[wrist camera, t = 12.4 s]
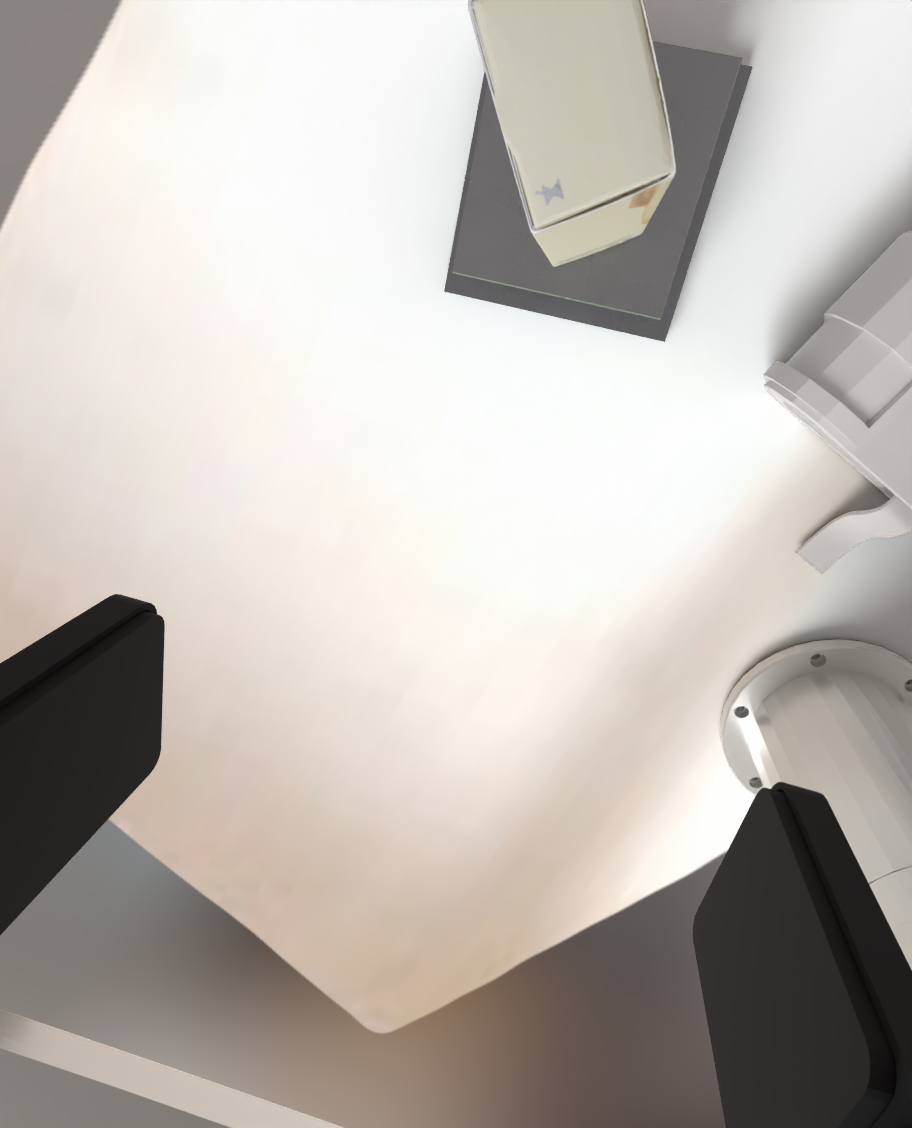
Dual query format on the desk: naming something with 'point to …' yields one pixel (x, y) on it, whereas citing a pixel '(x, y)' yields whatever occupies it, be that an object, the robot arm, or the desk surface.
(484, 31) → the skincare box
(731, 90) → the grey piece
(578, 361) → the desk surface
